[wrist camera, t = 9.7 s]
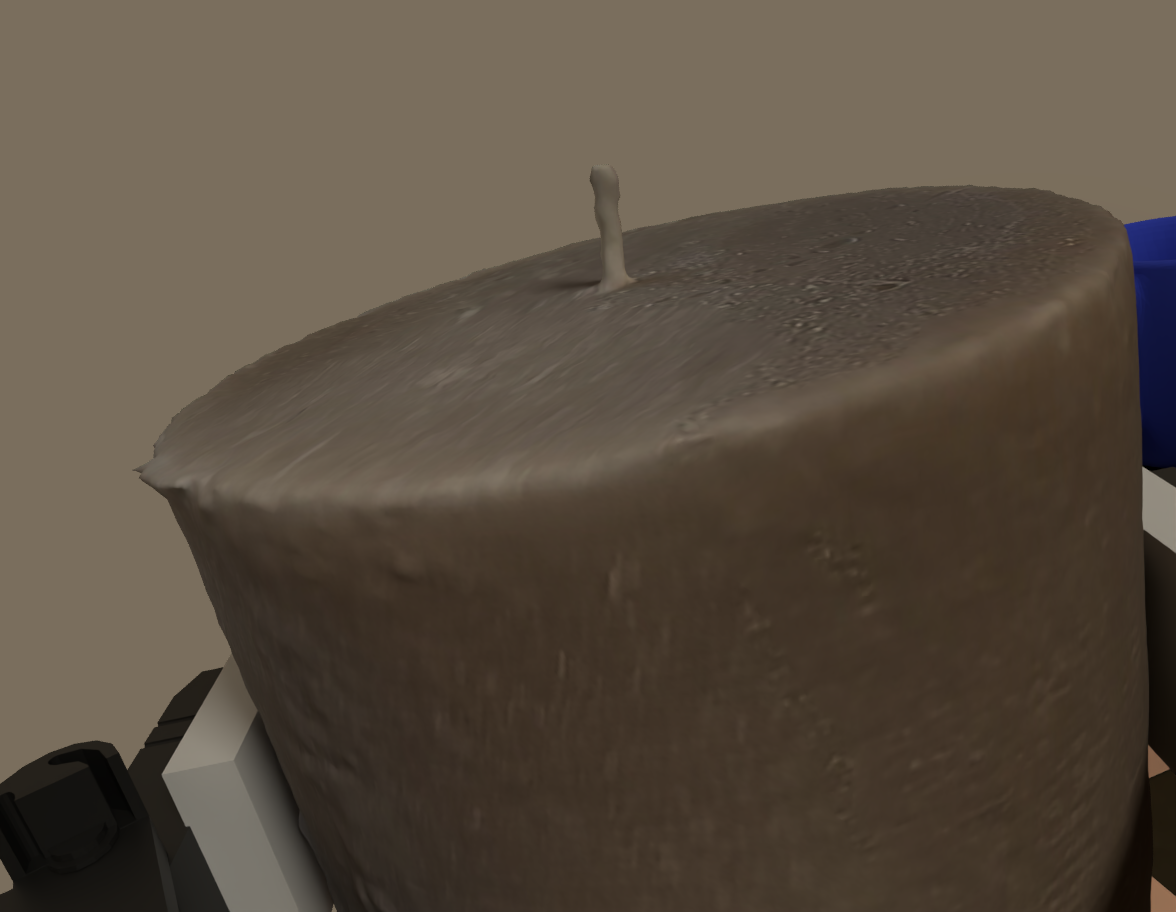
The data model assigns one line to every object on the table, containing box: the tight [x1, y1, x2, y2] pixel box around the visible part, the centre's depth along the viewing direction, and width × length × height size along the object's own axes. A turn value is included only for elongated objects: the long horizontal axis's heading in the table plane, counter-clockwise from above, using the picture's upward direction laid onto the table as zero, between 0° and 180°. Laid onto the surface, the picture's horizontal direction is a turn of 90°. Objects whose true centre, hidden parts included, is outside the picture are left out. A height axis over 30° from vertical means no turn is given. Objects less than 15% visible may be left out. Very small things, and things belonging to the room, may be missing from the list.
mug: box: [1124, 216, 1176, 468], centre depth 42 cm, size 8×12×10 cm
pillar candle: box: [133, 164, 1153, 912], centre depth 12 cm, size 10×10×15 cm
